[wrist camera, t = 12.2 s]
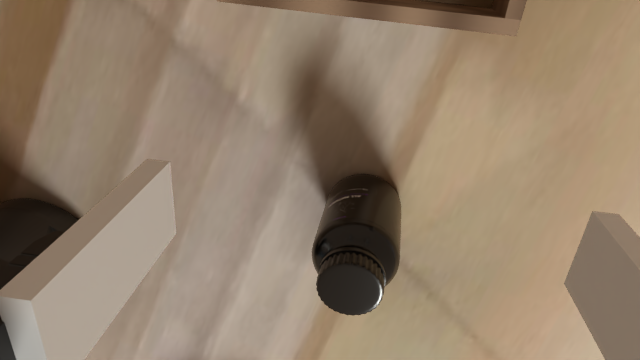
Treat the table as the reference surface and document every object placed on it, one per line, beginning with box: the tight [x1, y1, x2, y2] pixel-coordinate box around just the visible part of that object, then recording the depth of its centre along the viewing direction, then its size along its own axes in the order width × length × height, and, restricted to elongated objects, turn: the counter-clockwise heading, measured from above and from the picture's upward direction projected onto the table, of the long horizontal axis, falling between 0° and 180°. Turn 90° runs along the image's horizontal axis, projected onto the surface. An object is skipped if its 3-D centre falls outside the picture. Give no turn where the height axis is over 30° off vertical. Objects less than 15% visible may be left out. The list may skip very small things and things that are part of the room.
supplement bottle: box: [312, 174, 401, 315], centre depth 38 cm, size 7×7×12 cm
